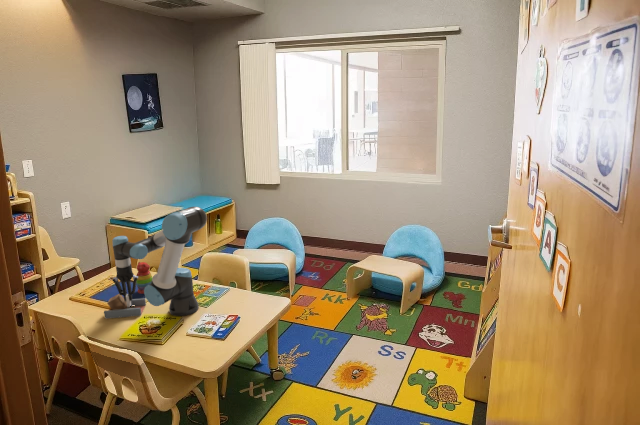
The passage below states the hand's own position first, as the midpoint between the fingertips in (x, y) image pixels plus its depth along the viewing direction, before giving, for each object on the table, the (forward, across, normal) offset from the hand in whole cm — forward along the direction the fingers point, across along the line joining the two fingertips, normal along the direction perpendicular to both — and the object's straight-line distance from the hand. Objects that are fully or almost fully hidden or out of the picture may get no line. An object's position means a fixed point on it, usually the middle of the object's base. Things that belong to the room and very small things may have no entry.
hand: (129, 305), depth 248 cm
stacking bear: (+3, -3, -26) cm, 26 cm away
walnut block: (+2, +4, 0) cm, 4 cm away
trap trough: (+3, +2, 0) cm, 4 cm away
